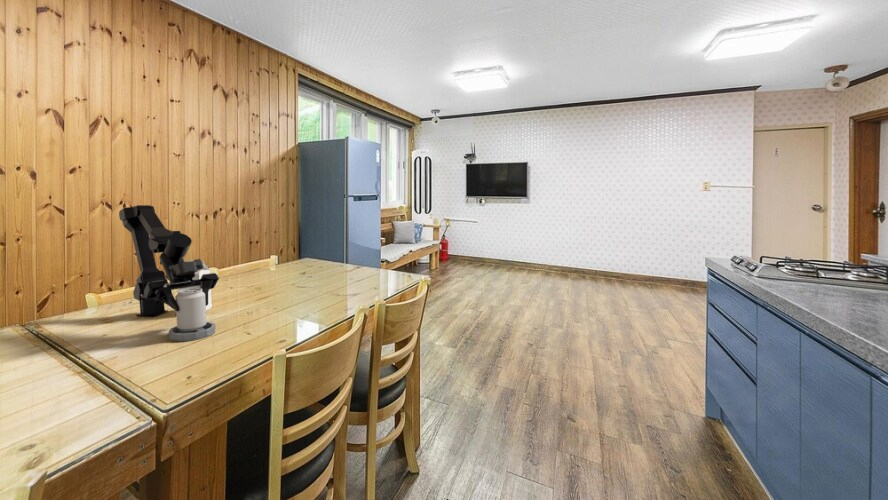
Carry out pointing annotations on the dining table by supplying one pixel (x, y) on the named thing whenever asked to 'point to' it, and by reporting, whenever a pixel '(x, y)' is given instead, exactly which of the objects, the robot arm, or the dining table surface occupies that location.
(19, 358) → the dining table surface
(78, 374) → the dining table surface
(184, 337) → the ring coaster
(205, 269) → the milk carton
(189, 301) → the can
